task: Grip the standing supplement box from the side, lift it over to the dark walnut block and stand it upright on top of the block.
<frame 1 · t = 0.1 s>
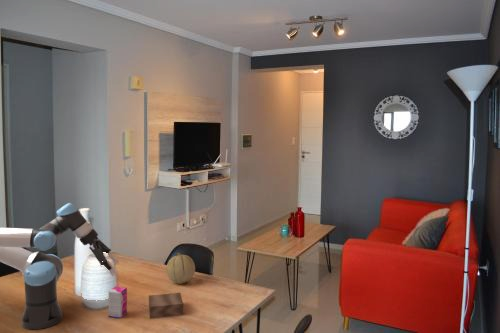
hand: (115, 268, 193), 15 cm above the table, tool tilted 35°, fingers open, 13 cm apart
walnut block: (165, 310, 185), on the table
supplement box: (118, 315, 180), on the table
cantaloupe: (181, 282, 217), on the table
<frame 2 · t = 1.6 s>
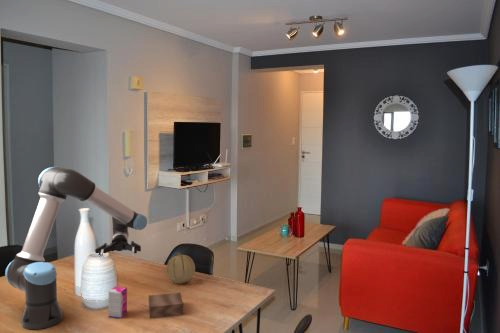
hand: (117, 255, 188), 23 cm above the table, tool horizontal, fingers open, 13 cm apart
nothing on the table moved.
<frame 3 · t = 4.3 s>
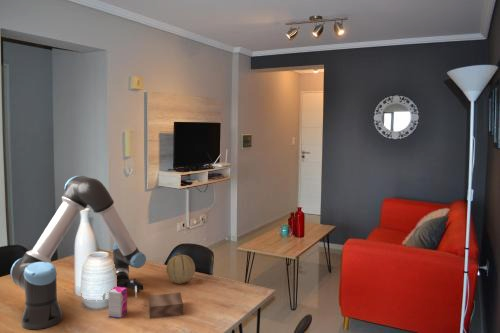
hand: (120, 296, 184), 6 cm above the table, tool horizontal, fingers open, 13 cm apart
nothing on the table moved.
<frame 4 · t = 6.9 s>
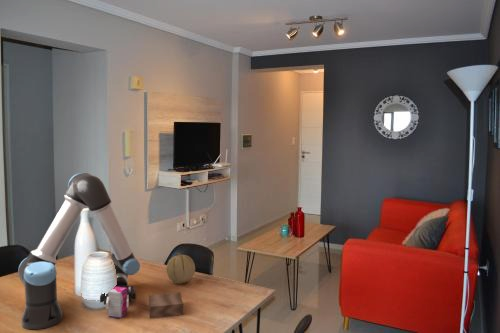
hand: (117, 305, 175), 7 cm above the table, tool horizontal, fingers closed on supplement box, 7 cm apart
supplement box: (118, 315, 180), on the table, touching gripper
everything else where it was.
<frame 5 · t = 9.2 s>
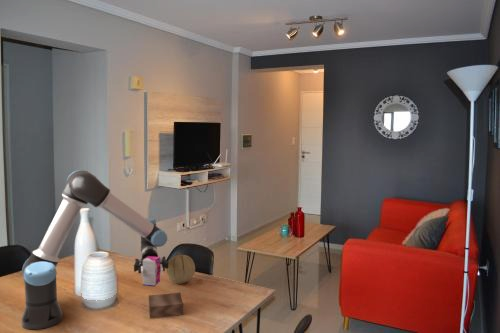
hand: (152, 273, 178), 19 cm above the table, tool horizontal, fingers closed on supplement box, 7 cm apart
supplement box: (151, 284, 183), point 12 cm above the table, touching gripper
everything else where it was.
when the fingers open (13 cm above the table, at t = 11.6 s): supplement box drops 1 cm, resting on walnut block.
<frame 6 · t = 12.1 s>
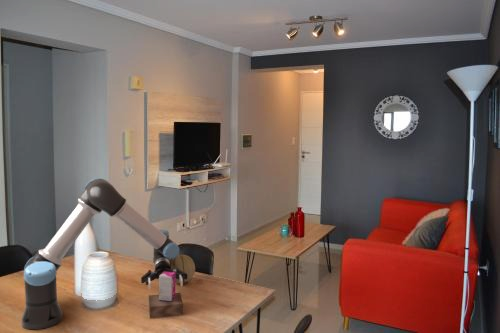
hand: (165, 284, 180), 13 cm above the table, tool horizontal, fingers open, 13 cm apart
supplement box: (167, 299, 185), point 5 cm above the table, touching walnut block
everything else where it was.
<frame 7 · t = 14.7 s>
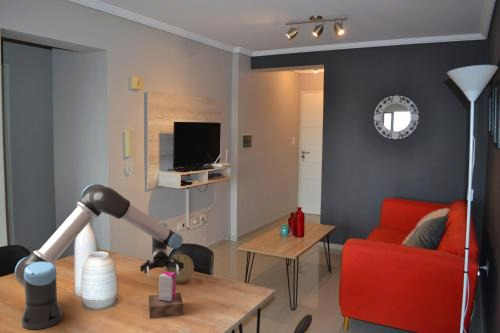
hand: (163, 273, 193), 13 cm above the table, tool horizontal, fingers open, 13 cm apart
cantaloupe: (180, 282, 218), on the table
everything else where it was.
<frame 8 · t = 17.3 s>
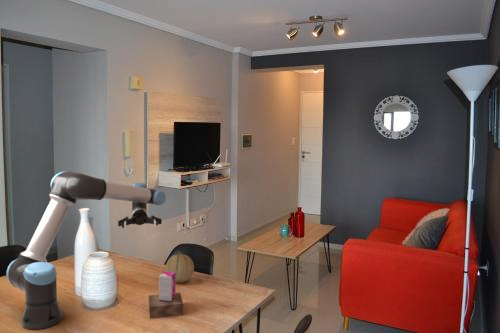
hand: (140, 226, 195), 34 cm above the table, tool horizontal, fingers open, 13 cm apart
nothing on the table moved.
at the end: supplement box inside the target area on the walnut block (0.9 cm from its centre), point 4.8 cm above the walnut block's base; supplement box tilted 0°; the gripper is holding nothing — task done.
